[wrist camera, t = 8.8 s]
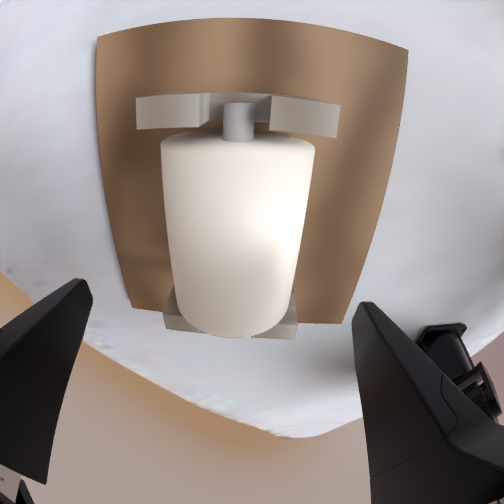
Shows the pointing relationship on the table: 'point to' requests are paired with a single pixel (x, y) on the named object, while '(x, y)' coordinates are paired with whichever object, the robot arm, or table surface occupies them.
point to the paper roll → (235, 221)
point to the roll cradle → (266, 118)
